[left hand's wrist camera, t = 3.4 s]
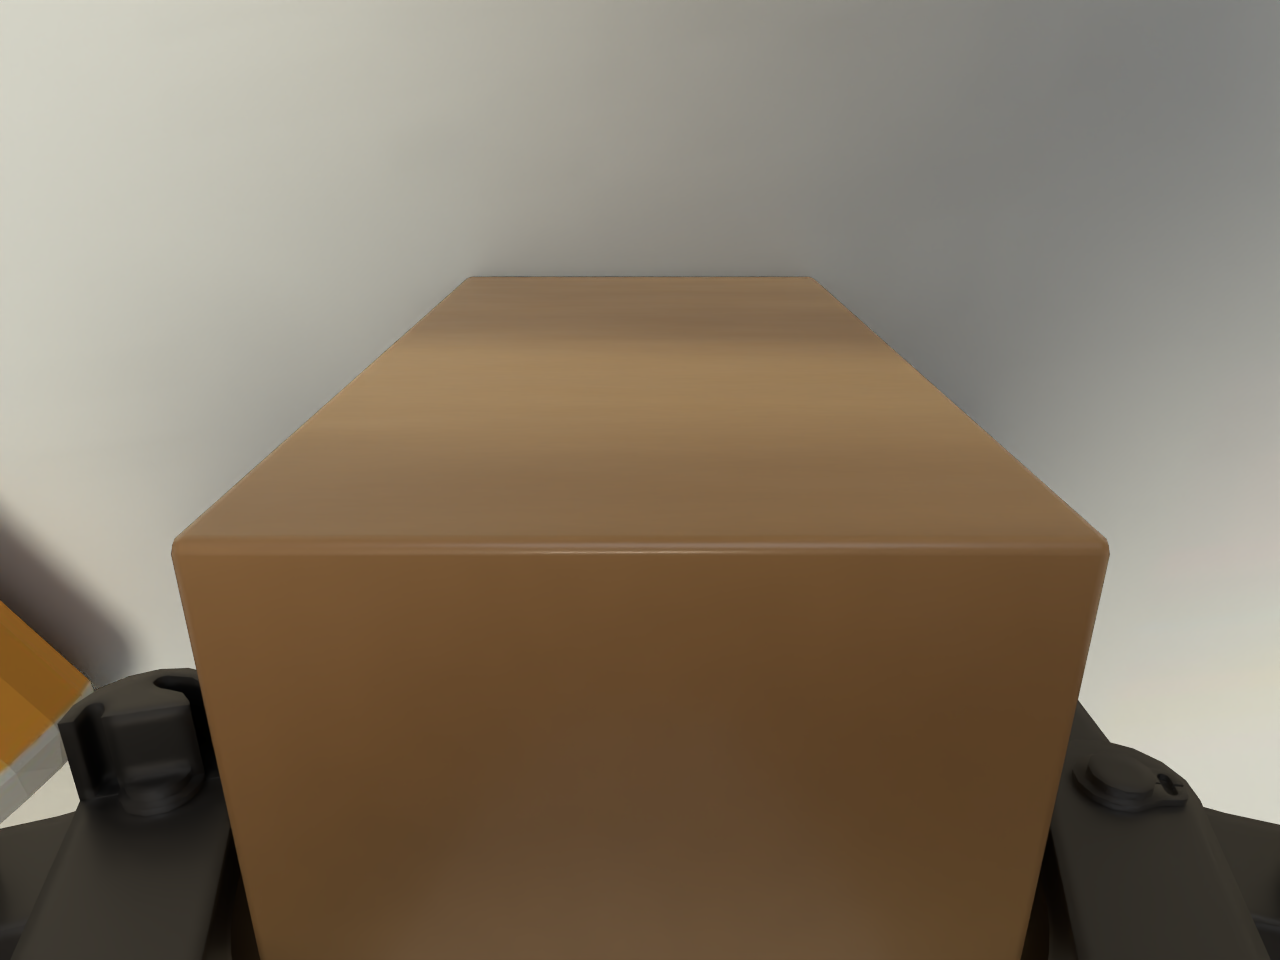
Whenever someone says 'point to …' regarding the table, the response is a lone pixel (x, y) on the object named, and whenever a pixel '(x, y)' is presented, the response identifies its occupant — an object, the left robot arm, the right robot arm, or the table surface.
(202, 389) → the table surface
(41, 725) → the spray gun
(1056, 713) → the bar
